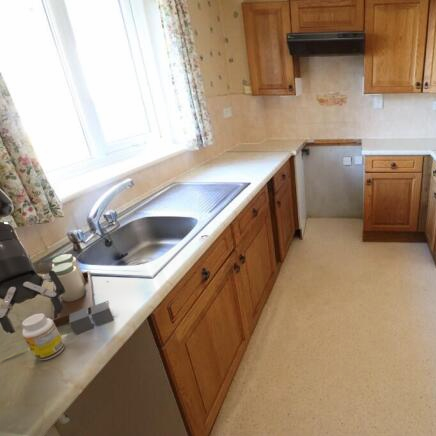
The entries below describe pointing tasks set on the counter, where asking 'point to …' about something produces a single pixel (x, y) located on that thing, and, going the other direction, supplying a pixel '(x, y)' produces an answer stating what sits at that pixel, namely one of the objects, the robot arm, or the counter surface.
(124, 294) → the counter surface
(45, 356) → the supplement bottle
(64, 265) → the cream bottles
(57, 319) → the tray
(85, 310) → the grey blocks
